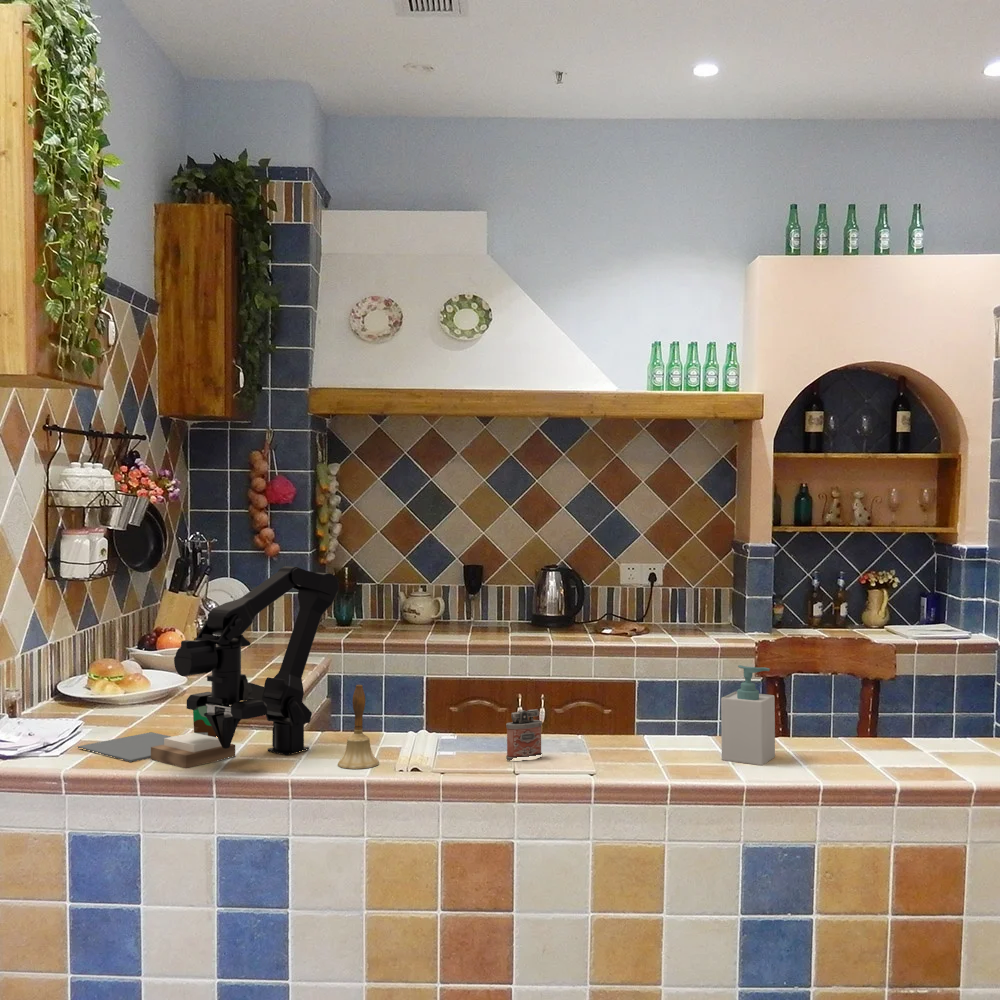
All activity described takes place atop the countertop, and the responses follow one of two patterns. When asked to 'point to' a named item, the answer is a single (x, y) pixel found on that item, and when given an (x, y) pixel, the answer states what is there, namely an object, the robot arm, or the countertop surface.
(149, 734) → the mat
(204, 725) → the food container
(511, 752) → the lighter
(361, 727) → the hand bell
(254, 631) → the countertop surface
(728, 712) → the soap bottle
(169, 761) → the wooden block
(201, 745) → the tile
